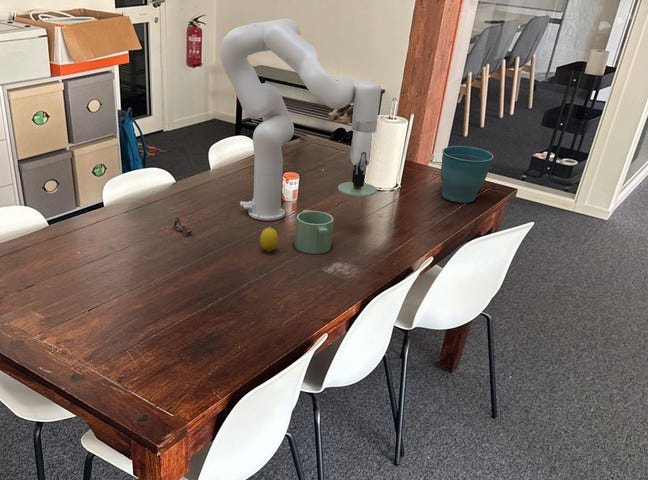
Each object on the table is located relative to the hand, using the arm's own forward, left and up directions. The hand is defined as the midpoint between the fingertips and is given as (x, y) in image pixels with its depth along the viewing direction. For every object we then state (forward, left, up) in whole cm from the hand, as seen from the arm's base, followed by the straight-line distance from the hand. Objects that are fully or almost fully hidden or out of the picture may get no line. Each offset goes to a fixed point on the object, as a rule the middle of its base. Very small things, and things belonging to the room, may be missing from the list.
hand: (357, 184), depth 217 cm
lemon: (-28, -18, -16) cm, 37 cm away
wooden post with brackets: (-56, -5, -16) cm, 59 cm away
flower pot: (+45, +35, -16) cm, 59 cm away
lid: (0, 0, -2) cm, 2 cm away
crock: (-14, -13, -16) cm, 25 cm away
